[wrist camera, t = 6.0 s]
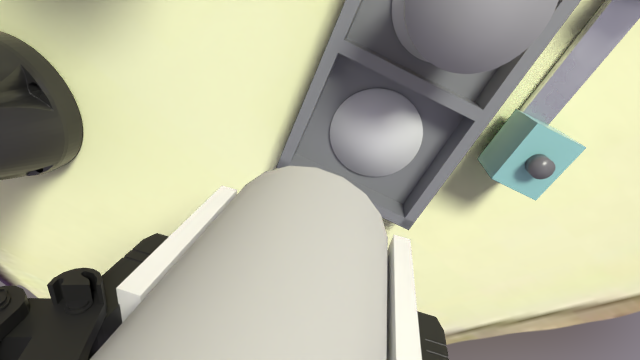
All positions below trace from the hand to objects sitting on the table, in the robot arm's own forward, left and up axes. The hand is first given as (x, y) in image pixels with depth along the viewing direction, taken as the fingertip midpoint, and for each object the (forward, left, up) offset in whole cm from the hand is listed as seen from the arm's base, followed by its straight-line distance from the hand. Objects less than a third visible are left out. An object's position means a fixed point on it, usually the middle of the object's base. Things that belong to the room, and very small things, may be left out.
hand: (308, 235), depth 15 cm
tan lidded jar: (+3, +12, -16) cm, 21 cm away
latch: (+14, +6, -16) cm, 22 cm away
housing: (+3, +7, -17) cm, 19 cm away
